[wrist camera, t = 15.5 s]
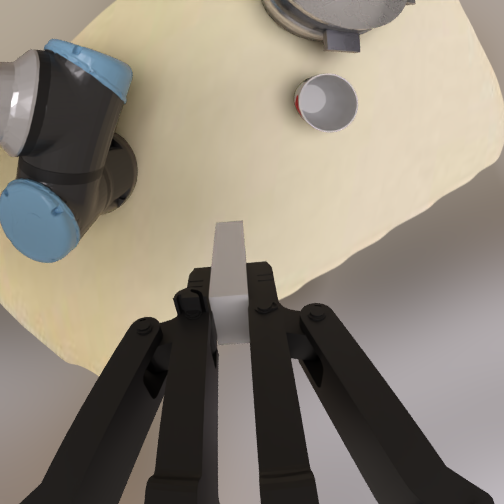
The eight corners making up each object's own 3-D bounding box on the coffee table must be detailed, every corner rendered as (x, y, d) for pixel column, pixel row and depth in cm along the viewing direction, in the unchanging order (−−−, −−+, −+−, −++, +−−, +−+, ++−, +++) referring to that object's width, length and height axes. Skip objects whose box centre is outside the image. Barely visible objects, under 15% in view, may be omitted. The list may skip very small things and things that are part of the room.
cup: (295, 68, 42) (310, 64, 33) (341, 85, 43) (365, 87, 35) (280, 113, 46) (290, 120, 37) (326, 129, 47) (346, 140, 39)
